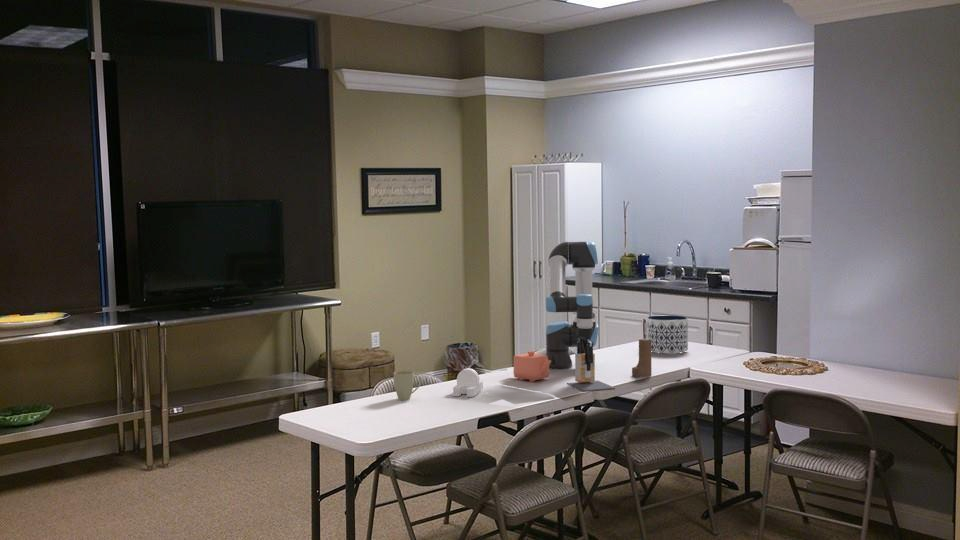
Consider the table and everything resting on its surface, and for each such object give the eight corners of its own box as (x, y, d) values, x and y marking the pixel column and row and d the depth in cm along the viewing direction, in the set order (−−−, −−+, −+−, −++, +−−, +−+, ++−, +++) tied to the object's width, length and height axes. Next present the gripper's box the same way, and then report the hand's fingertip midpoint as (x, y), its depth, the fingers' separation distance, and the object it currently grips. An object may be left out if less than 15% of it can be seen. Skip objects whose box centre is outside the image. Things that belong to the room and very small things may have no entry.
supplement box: (580, 382, 403) (580, 355, 402) (574, 381, 407) (574, 353, 406) (595, 381, 406) (595, 353, 405) (589, 379, 411) (589, 352, 410)
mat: (566, 384, 407) (566, 383, 407) (597, 381, 412) (597, 380, 412) (583, 391, 390) (583, 390, 390) (615, 388, 395) (615, 387, 395)
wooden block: (638, 378, 419) (638, 341, 418) (631, 376, 423) (631, 340, 421) (651, 376, 424) (651, 339, 423) (645, 374, 428) (645, 338, 426)
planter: (647, 356, 481) (647, 320, 480) (646, 349, 503) (646, 315, 502) (689, 356, 477) (689, 320, 476) (686, 350, 499) (686, 315, 498)
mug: (408, 402, 373) (407, 375, 372) (389, 400, 378) (389, 373, 377) (422, 398, 382) (422, 371, 381) (404, 395, 387) (404, 369, 386)
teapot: (558, 381, 414) (558, 352, 413) (541, 385, 405) (541, 355, 404) (523, 376, 429) (522, 347, 428) (506, 379, 420) (506, 351, 419)
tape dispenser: (452, 396, 386) (452, 372, 386) (463, 387, 404) (463, 365, 403) (473, 396, 384) (472, 372, 383) (483, 388, 401) (483, 365, 401)
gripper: (569, 325, 412) (569, 373, 414) (585, 330, 395) (586, 380, 397) (583, 324, 415) (584, 372, 416) (600, 329, 397) (600, 379, 399)
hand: (585, 376), depth 406 cm, fingers closed on supplement box, 5 cm apart
